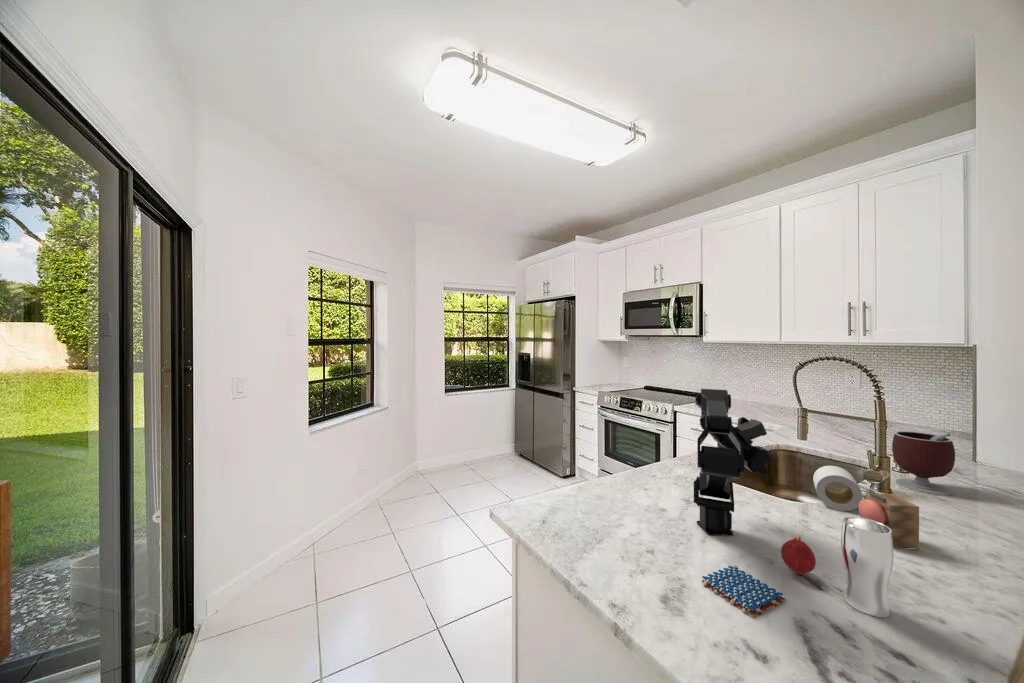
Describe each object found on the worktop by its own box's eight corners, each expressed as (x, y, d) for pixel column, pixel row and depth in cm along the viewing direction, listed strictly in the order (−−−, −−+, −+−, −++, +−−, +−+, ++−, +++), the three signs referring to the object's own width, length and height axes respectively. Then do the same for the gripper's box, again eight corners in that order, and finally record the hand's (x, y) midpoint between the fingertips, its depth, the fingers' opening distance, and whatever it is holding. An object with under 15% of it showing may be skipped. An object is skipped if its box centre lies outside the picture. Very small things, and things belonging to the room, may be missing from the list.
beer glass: (831, 593, 71) (831, 516, 71) (864, 591, 72) (864, 514, 72) (868, 621, 64) (869, 535, 64) (905, 618, 65) (905, 533, 65)
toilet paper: (813, 494, 117) (813, 462, 117) (855, 502, 111) (855, 469, 111) (816, 505, 109) (816, 472, 109) (862, 515, 103) (862, 479, 103)
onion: (822, 584, 74) (822, 545, 74) (790, 581, 75) (790, 541, 75) (805, 567, 79) (805, 530, 79) (775, 564, 81) (775, 527, 80)
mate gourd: (880, 478, 129) (880, 422, 129) (925, 480, 128) (925, 423, 127) (923, 497, 114) (923, 433, 114) (975, 500, 112) (975, 434, 112)
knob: (878, 531, 88) (878, 505, 88) (858, 518, 93) (858, 495, 93) (914, 533, 87) (914, 507, 86) (892, 520, 92) (892, 496, 92)
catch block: (889, 547, 87) (889, 501, 87) (864, 532, 94) (864, 489, 94) (919, 549, 86) (919, 503, 86) (892, 533, 93) (892, 491, 93)
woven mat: (753, 622, 65) (753, 611, 64) (699, 586, 74) (699, 576, 74) (788, 604, 69) (788, 593, 69) (733, 572, 79) (733, 562, 79)
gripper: (763, 417, 89) (813, 464, 88) (728, 403, 108) (769, 443, 106) (728, 448, 90) (777, 496, 89) (700, 430, 109) (740, 469, 107)
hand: (766, 473), depth 98 cm, fingers closed
